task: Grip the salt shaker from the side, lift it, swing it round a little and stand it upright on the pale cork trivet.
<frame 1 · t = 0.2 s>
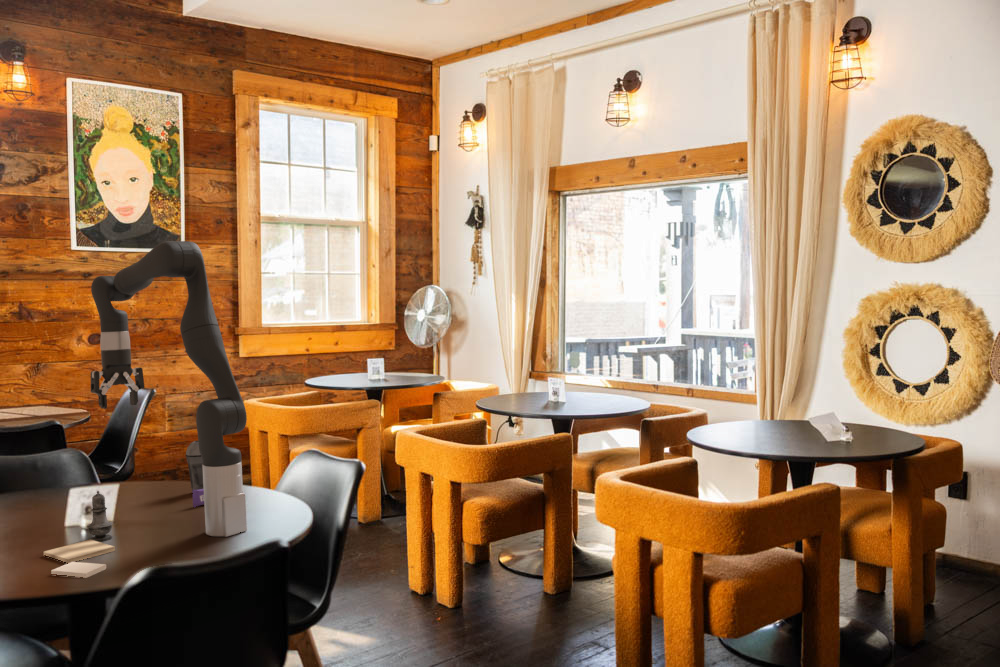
hand: (119, 406, 239), 29 cm above the table, tool pointing down, fingers open, 8 cm apart
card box: (79, 574, 188), on the table
snack package: (211, 504, 245), on the table
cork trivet: (79, 553, 201), on the table
beverage cup: (200, 493, 258), on the table
salt shaker: (100, 539, 212), on the table
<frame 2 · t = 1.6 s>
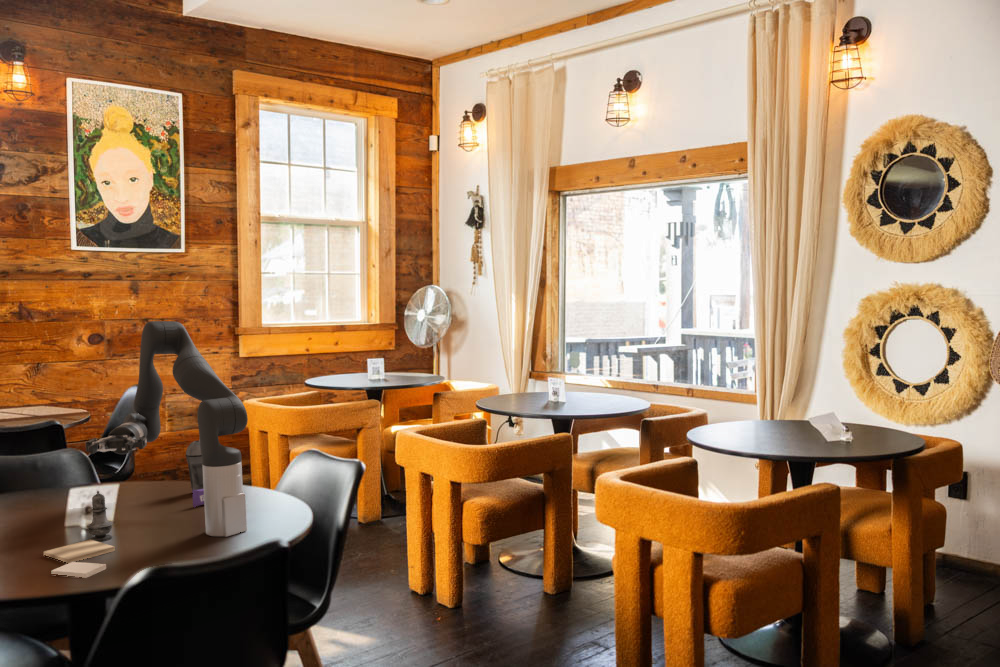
hand: (109, 449, 222), 20 cm above the table, tool horizontal, fingers open, 8 cm apart
nothing on the table moved.
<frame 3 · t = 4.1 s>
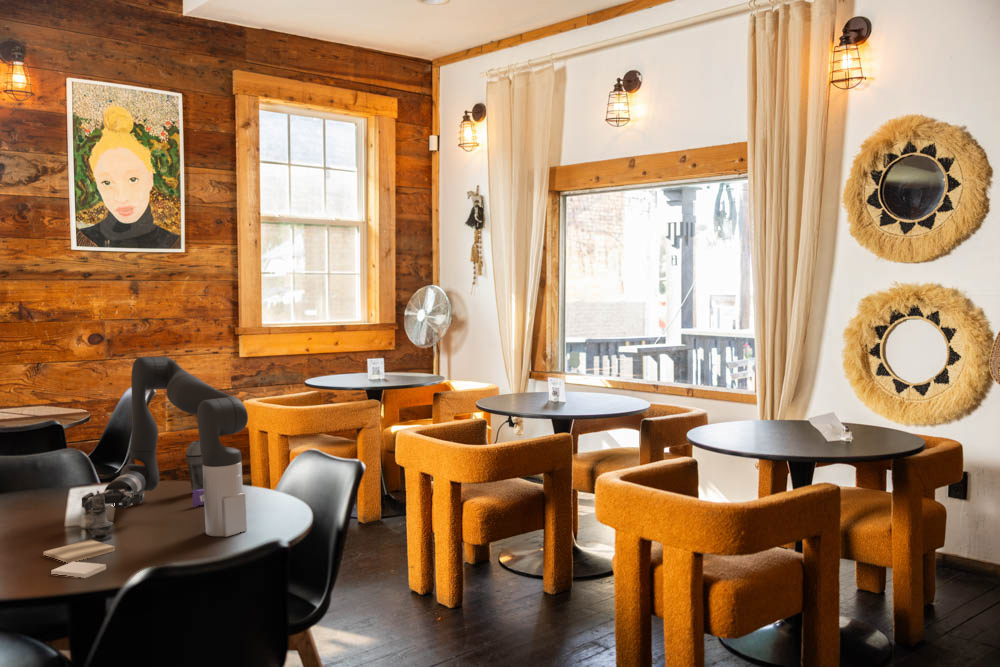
hand: (105, 505, 217), 7 cm above the table, tool horizontal, fingers open, 8 cm apart
nothing on the table moved.
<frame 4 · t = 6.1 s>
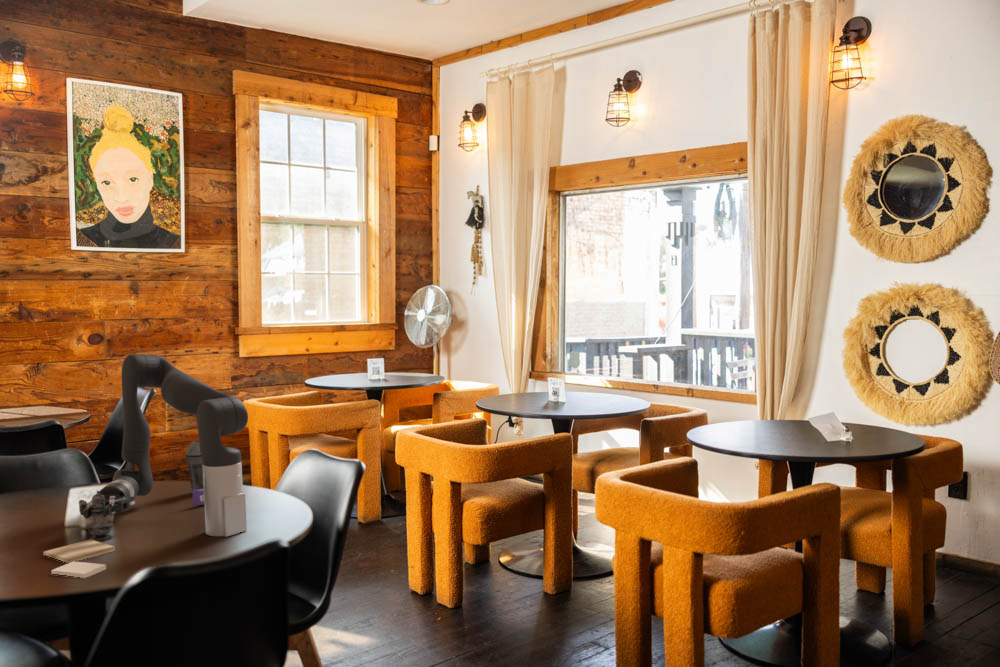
hand: (95, 513, 209), 7 cm above the table, tool horizontal, fingers closed on salt shaker, 3 cm apart
salt shaker: (100, 539, 212), on the table, touching gripper
everything else where it was.
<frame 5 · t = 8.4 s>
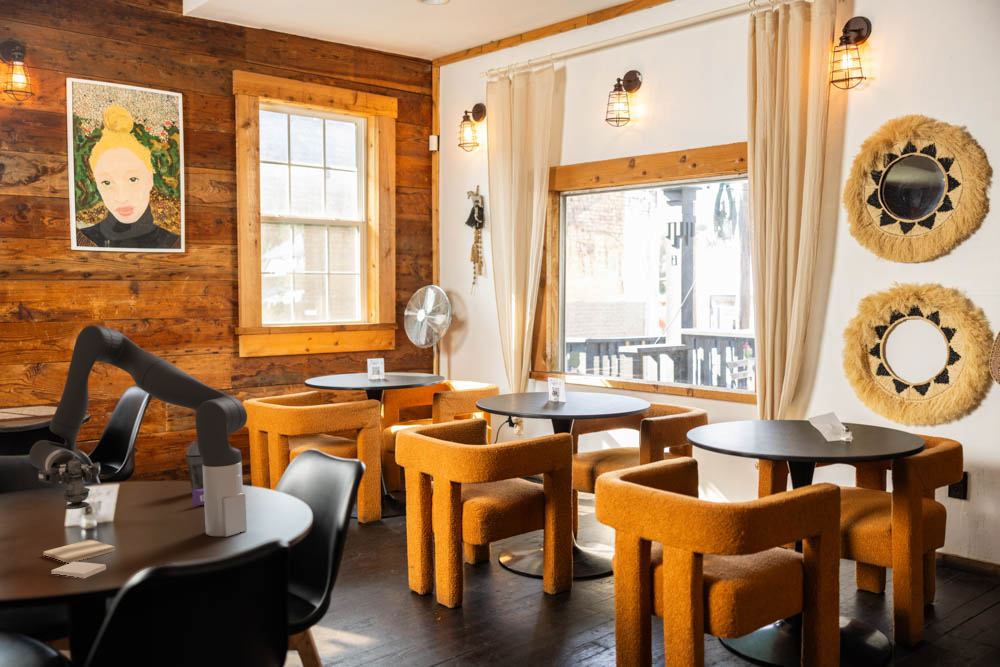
hand: (77, 478, 199), 18 cm above the table, tool horizontal, fingers closed on salt shaker, 3 cm apart
salt shaker: (77, 507, 201), point 11 cm above the table, touching gripper
everything else where it was.
when the fingers open (9 cm above the table, at t = 10.5 s): salt shaker stays where it is, resting on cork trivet.
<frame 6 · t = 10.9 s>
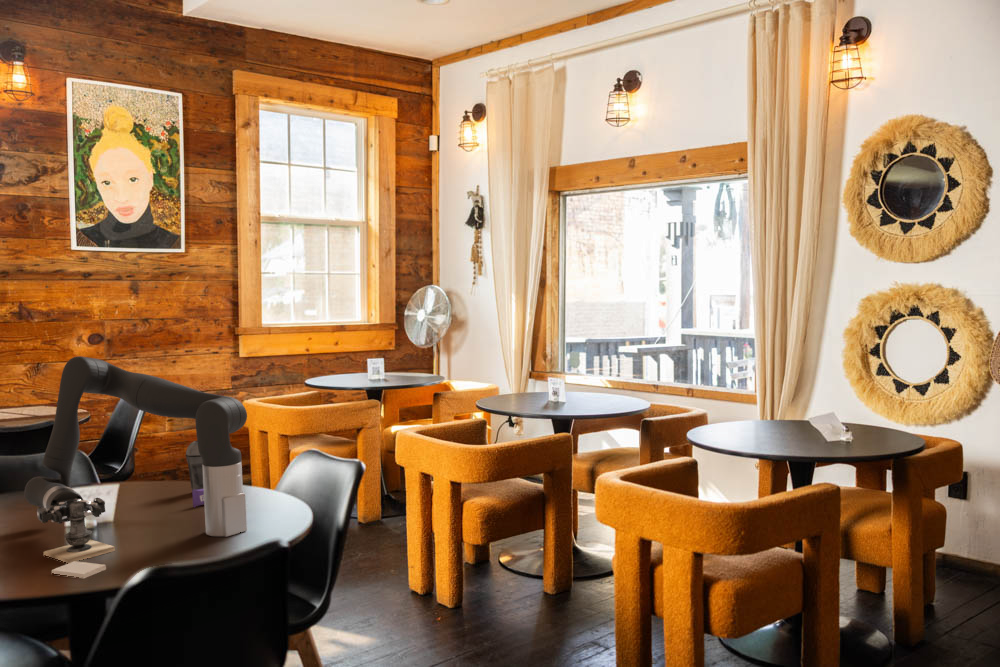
hand: (79, 515, 199), 9 cm above the table, tool horizontal, fingers open, 7 cm apart
salt shaker: (79, 549, 201), point 1 cm above the table, touching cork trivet
everything else where it was.
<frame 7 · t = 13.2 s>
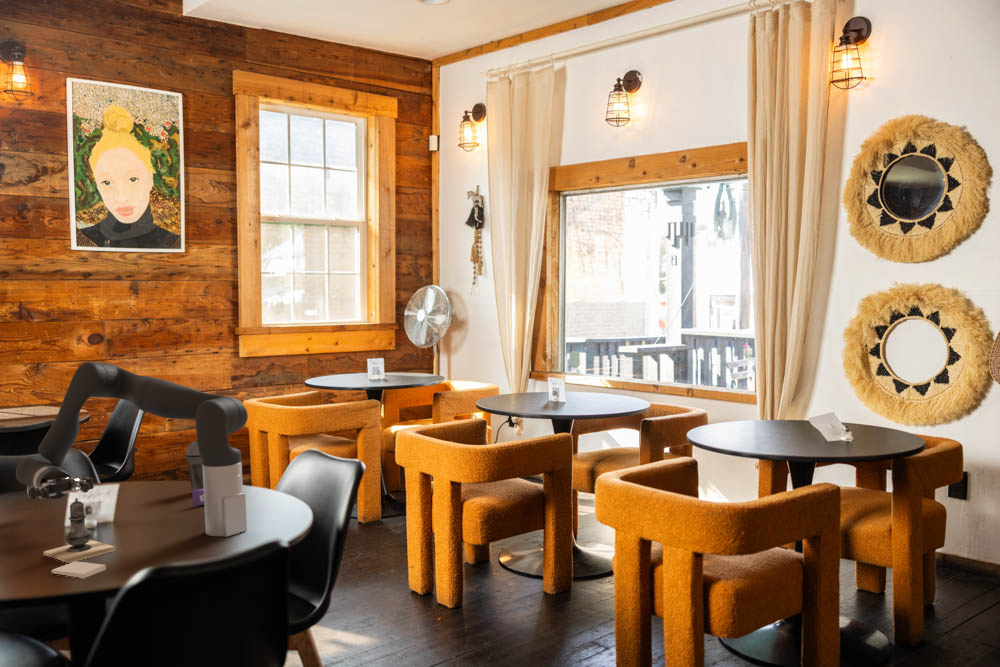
hand: (67, 491, 209), 13 cm above the table, tool horizontal, fingers open, 8 cm apart
nothing on the table moved.
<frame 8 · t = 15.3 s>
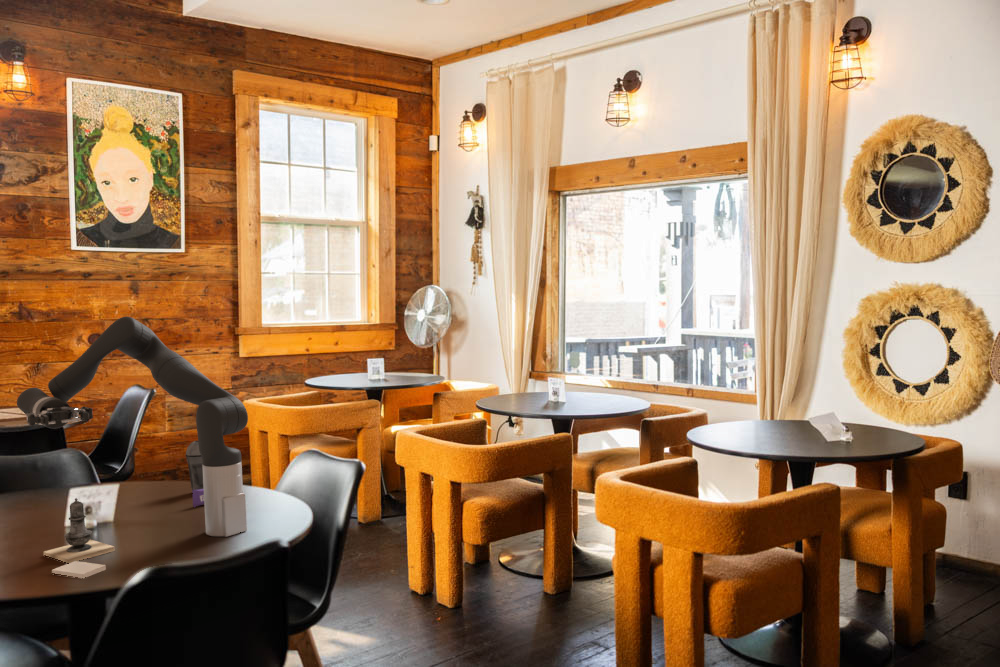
hand: (66, 418, 209), 30 cm above the table, tool horizontal, fingers open, 8 cm apart
nothing on the table moved.
at the end: salt shaker inside the target area on the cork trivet (0.1 cm from its centre), point 0.8 cm above the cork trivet's base; salt shaker tilted 0°; the gripper is holding nothing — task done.
